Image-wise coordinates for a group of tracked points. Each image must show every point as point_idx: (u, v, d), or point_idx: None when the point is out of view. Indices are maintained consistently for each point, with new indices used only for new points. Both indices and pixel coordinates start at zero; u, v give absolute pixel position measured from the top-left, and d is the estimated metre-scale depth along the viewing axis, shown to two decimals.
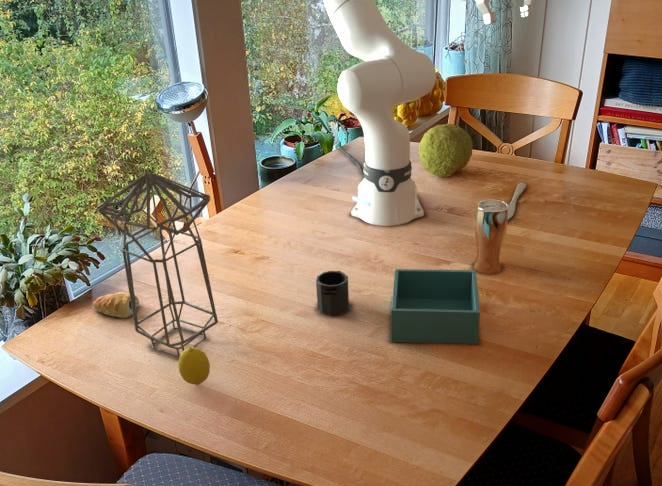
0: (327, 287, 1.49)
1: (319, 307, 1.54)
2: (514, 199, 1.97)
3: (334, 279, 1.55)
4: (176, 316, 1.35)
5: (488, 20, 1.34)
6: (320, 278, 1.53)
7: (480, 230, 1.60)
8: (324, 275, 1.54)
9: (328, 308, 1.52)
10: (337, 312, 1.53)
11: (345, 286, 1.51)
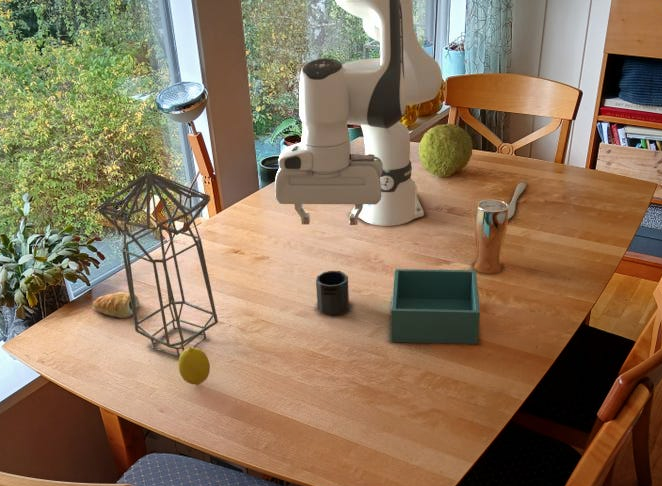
0: (327, 287, 1.49)
1: (319, 307, 1.54)
2: (514, 199, 1.97)
3: (334, 279, 1.55)
4: (176, 316, 1.35)
5: (301, 221, 1.45)
6: (320, 278, 1.53)
7: (480, 230, 1.60)
8: (324, 275, 1.54)
9: (328, 308, 1.52)
10: (337, 312, 1.53)
11: (345, 286, 1.51)
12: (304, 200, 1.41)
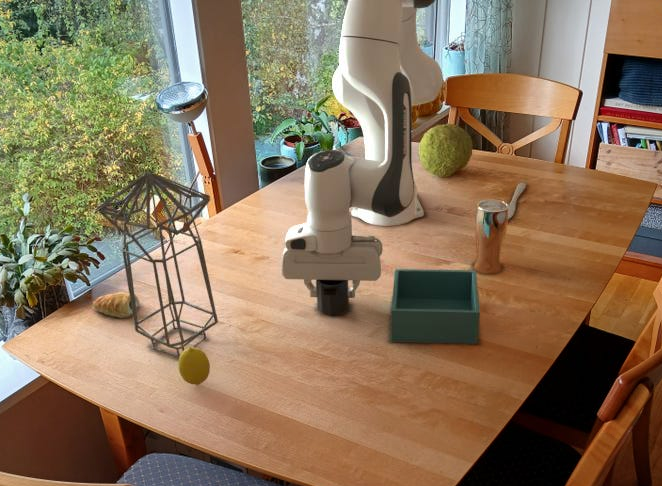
0: (327, 287, 1.49)
1: (319, 307, 1.54)
2: (514, 199, 1.97)
3: None
4: (176, 316, 1.35)
5: None
6: None
7: (480, 230, 1.60)
8: None
9: (328, 308, 1.52)
10: (337, 312, 1.53)
11: (345, 286, 1.51)
12: (309, 276, 1.50)
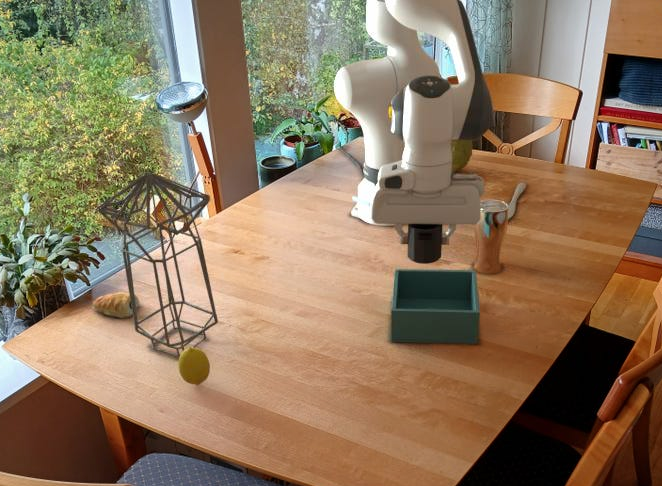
0: (422, 231, 1.36)
1: (410, 255, 1.41)
2: (514, 199, 1.97)
3: (426, 225, 1.42)
4: (176, 316, 1.35)
5: None
6: None
7: (480, 230, 1.60)
8: None
9: (421, 256, 1.39)
10: (430, 261, 1.40)
11: (440, 231, 1.38)
12: (401, 220, 1.37)
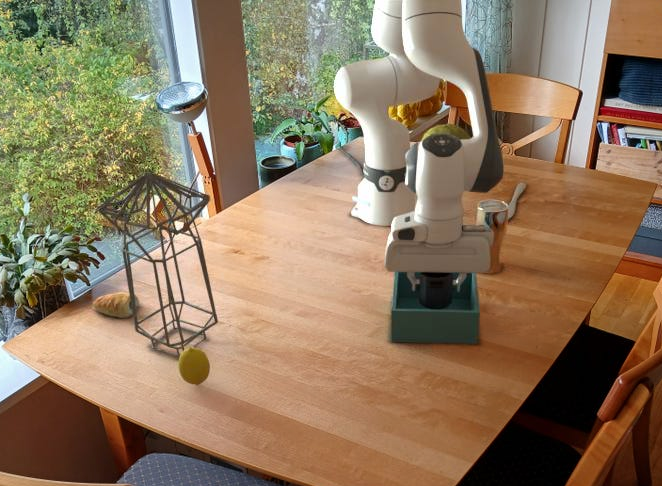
0: (433, 280, 1.41)
1: (421, 301, 1.46)
2: (514, 199, 1.97)
3: None
4: (176, 316, 1.35)
5: None
6: None
7: None
8: None
9: (432, 302, 1.44)
10: (441, 307, 1.45)
11: (451, 279, 1.43)
12: (413, 268, 1.42)
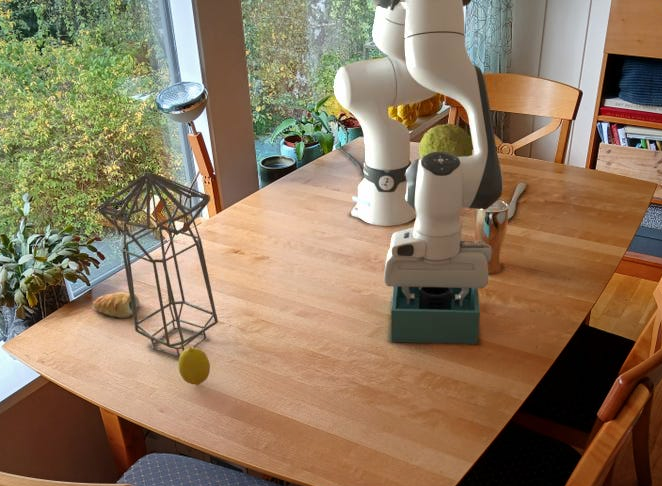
0: (432, 296, 1.43)
1: None
2: (514, 199, 1.97)
3: (436, 288, 1.49)
4: (176, 316, 1.35)
5: (407, 301, 1.48)
6: (422, 287, 1.47)
7: (480, 230, 1.60)
8: None
9: None
10: None
11: (450, 295, 1.45)
12: (412, 283, 1.44)
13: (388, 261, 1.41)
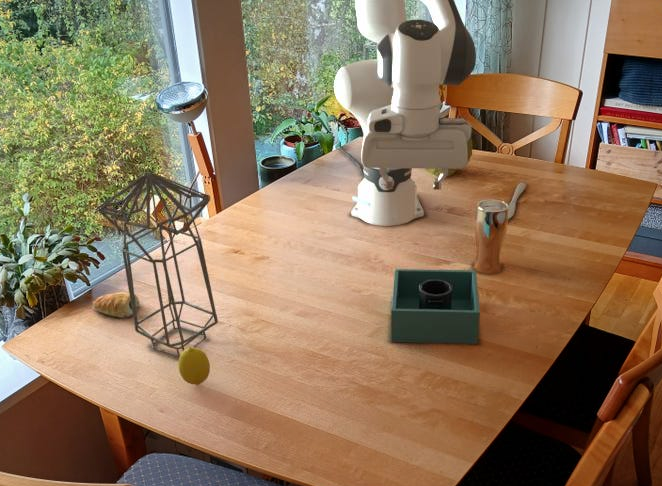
0: (432, 296, 1.43)
1: None
2: (514, 199, 1.97)
3: (436, 288, 1.49)
4: (176, 316, 1.35)
5: (385, 185, 1.45)
6: (422, 287, 1.47)
7: (480, 230, 1.60)
8: (426, 284, 1.48)
9: None
10: None
11: (450, 295, 1.45)
12: (390, 164, 1.40)
13: (365, 139, 1.37)
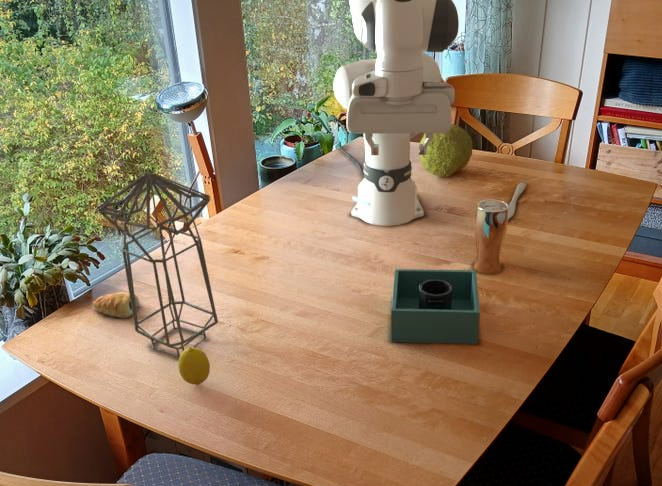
0: (432, 296, 1.43)
1: None
2: (514, 199, 1.97)
3: (436, 288, 1.49)
4: (176, 316, 1.35)
5: (371, 152, 1.46)
6: (422, 287, 1.47)
7: (480, 230, 1.60)
8: (426, 284, 1.48)
9: None
10: None
11: (450, 295, 1.45)
12: (375, 129, 1.42)
13: (350, 103, 1.40)
